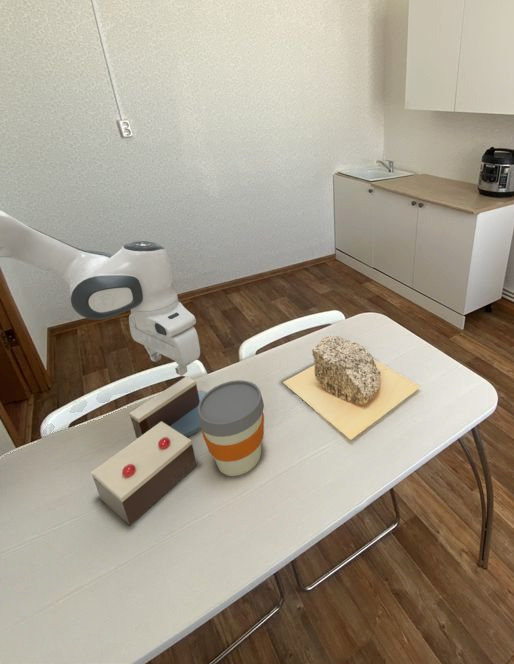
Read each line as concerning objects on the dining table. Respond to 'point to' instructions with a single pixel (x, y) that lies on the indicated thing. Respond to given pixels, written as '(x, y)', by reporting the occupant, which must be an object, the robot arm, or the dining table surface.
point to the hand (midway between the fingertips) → (169, 366)
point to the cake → (144, 471)
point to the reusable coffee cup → (233, 425)
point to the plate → (189, 421)
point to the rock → (349, 385)
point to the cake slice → (166, 406)
